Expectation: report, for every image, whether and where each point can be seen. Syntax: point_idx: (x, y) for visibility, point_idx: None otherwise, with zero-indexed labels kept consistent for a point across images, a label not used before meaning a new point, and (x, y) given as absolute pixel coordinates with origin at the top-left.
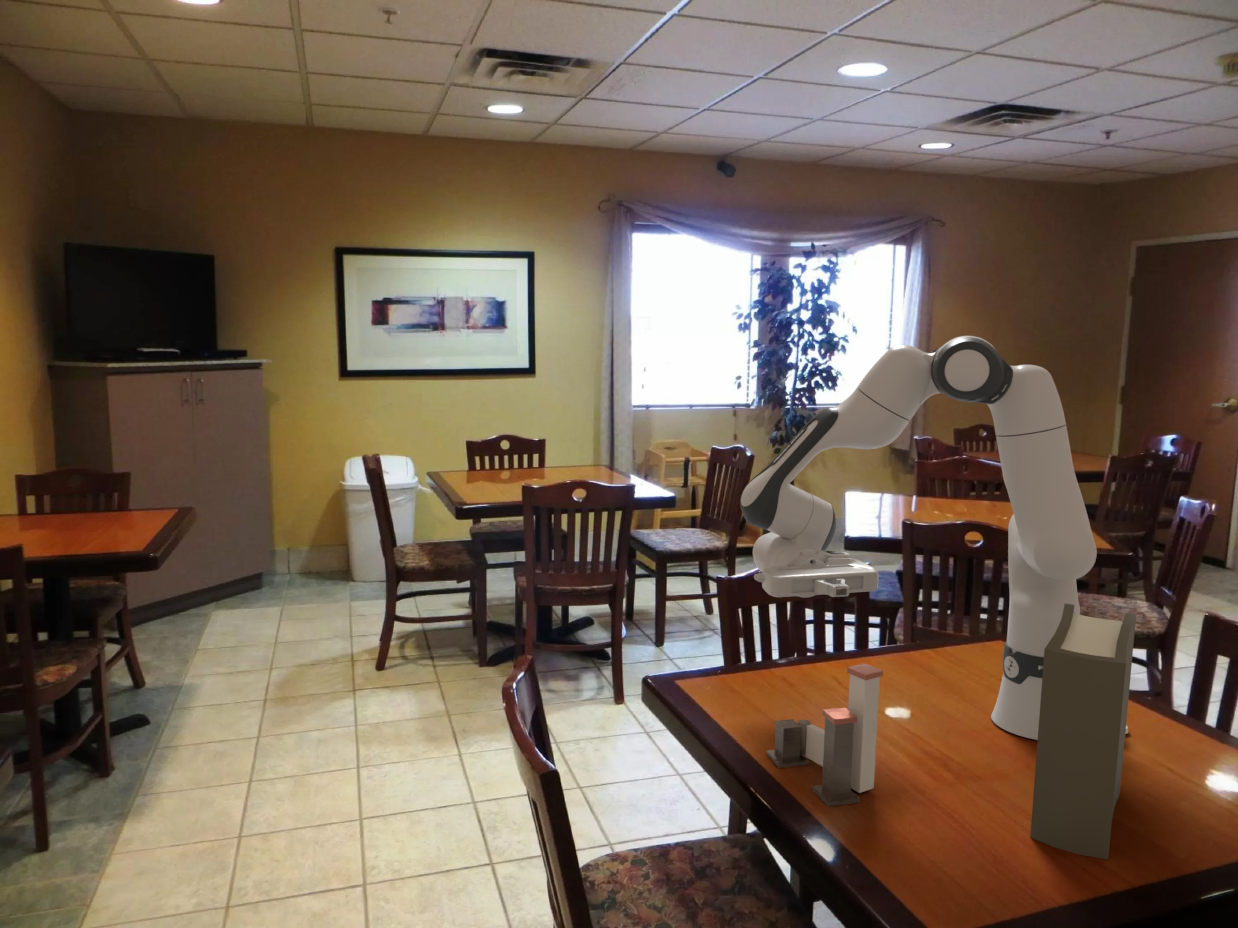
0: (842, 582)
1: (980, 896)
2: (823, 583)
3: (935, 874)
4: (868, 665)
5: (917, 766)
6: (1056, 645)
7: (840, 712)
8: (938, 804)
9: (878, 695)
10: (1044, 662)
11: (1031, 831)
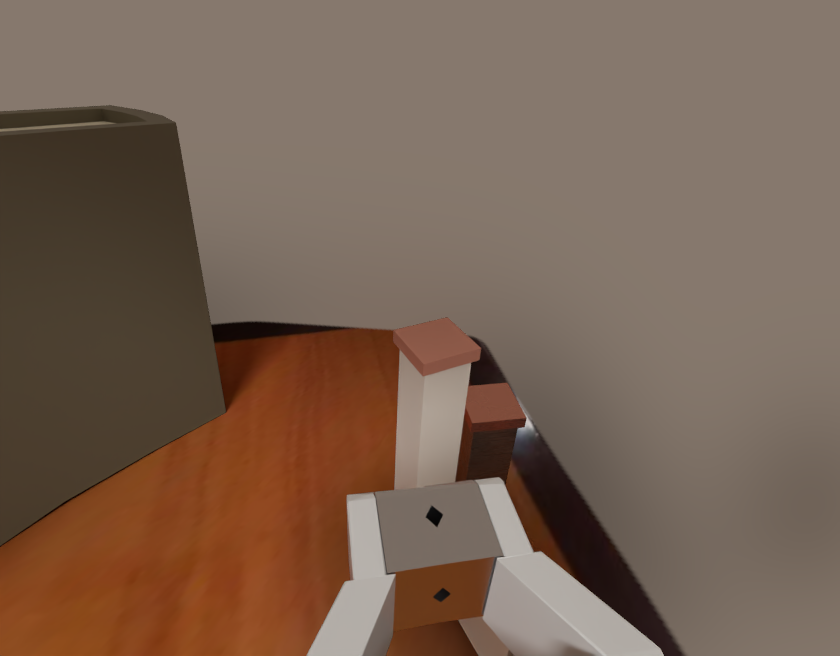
0: (360, 607)
1: (368, 346)
2: (585, 587)
3: (396, 370)
4: (418, 353)
5: (233, 638)
6: (136, 122)
7: (488, 404)
8: (297, 489)
9: (399, 384)
10: (180, 149)
11: (224, 404)
